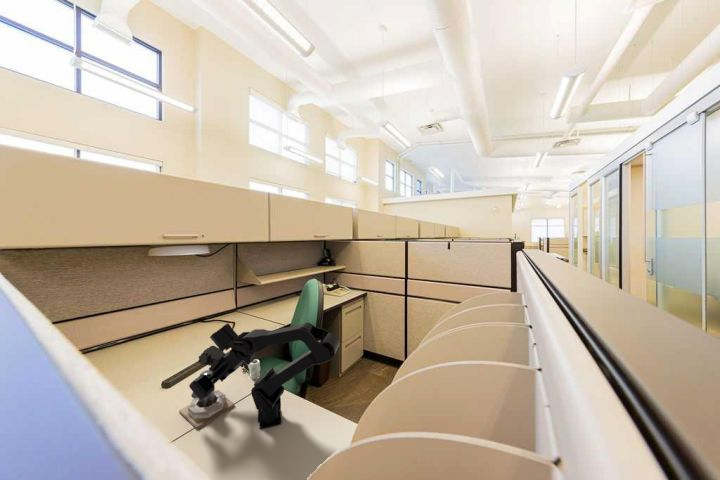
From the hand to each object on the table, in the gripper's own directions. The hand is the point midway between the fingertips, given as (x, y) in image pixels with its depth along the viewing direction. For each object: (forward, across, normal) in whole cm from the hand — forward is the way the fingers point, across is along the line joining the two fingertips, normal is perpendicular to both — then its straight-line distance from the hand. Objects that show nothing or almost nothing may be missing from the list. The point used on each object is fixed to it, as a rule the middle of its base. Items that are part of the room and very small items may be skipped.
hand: (203, 387), depth 86 cm
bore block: (+4, 0, +6) cm, 8 cm away
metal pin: (+4, 0, +6) cm, 7 cm away
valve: (+3, -22, +8) cm, 23 cm away
